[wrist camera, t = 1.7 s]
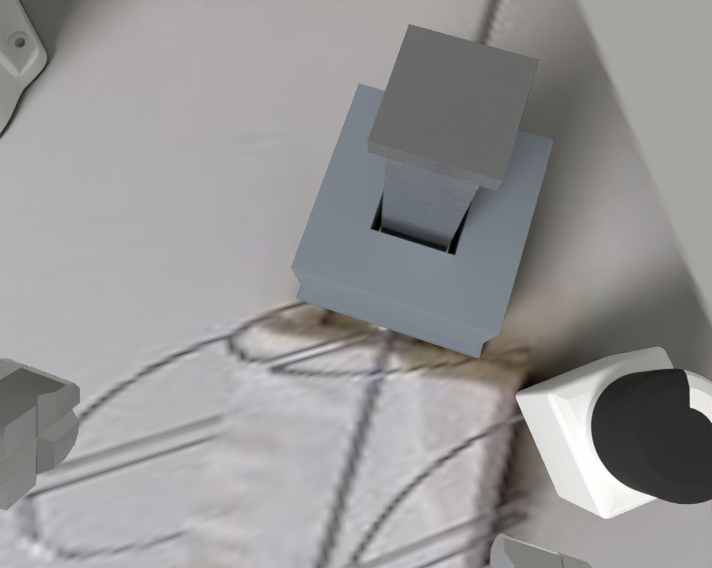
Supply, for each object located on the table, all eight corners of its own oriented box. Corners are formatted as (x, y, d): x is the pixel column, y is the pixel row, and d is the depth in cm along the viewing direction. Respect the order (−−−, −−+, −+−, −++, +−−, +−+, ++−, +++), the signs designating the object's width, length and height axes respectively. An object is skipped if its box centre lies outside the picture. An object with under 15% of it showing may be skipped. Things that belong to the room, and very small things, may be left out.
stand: (297, 299, 38) (276, 267, 29) (356, 137, 41) (353, 62, 32) (477, 358, 37) (512, 343, 28) (526, 187, 40) (572, 124, 31)
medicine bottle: (558, 498, 35) (653, 546, 23) (512, 393, 37) (580, 388, 25) (658, 457, 36) (800, 484, 24) (608, 355, 37) (719, 332, 25)
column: (367, 260, 38) (367, 140, 20) (390, 192, 39) (409, 24, 21) (440, 283, 37) (502, 180, 20) (462, 214, 38) (538, 59, 21)
